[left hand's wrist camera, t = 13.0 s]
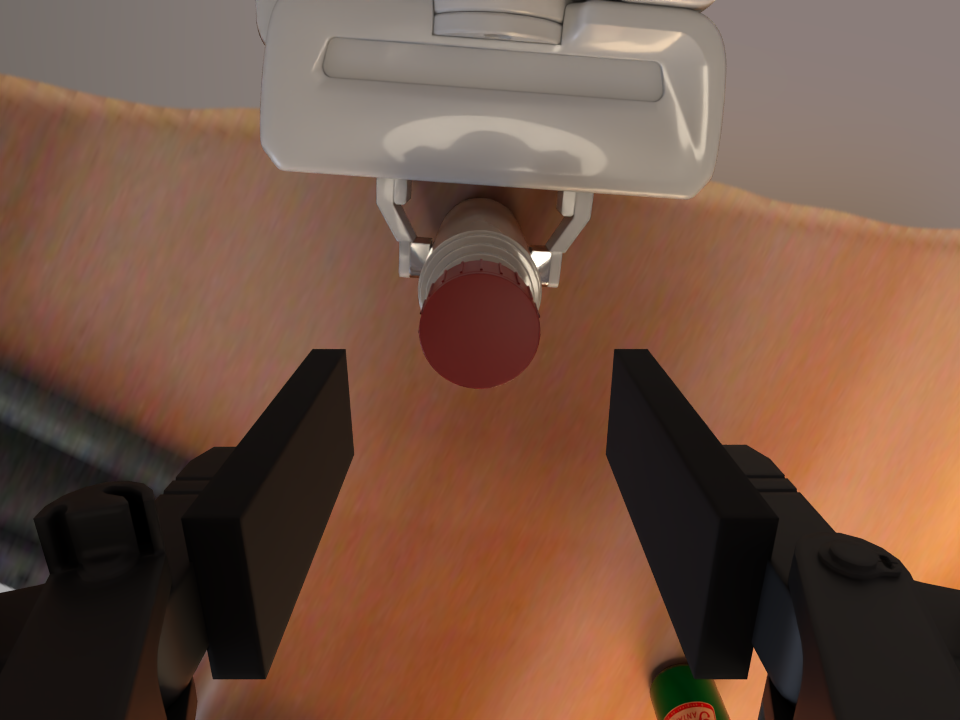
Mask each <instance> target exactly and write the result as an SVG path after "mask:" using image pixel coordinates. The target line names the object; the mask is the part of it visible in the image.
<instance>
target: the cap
mask: <svg viewBox="0 0 960 720" xmlns="http://www.w3.org/2000/svg"><path fill="white" fill-rule="evenodd" d="M420 314H421V319H420V325H419V338H420V344H421V347H422V350H423V353H424V355H425V357H426V359H427V360H428V362H429V363H430V365H431V366H432V367H433V368H434V370H435V371H437V372H438V373H439V374H440V375H441V376H442V377H444V378H445V379H447V380H449V381H450V382H452V383H455V384H457V385H460V386H463V387H467V388H474V389H485V388H492V387H496V386H499V385H502V384H505V383H507V382H509V381H511V380H512V379H514V378H515V377H517V376H518V375H519V374H521V373H522V372H523V371H524V370H525V369H526V367H527V366H528V365H529V364H530V362H531V361H532V359H533V357H534V355H535V353H536V351H537V348H538V345H539V339H540V322H539V318H540V315H539V312H538V309H537V306H536V303H534V301H533V296H532V293H531V290H530V287H529V285H528V286H527V285H526V284H525V283H524V281H523V280H522V279H521V278H520V277H519V276H518V273H517V272H513V271H512V270H511V269H509V268H507V267H506V266H503V265H502V263H500V262H499V263H495V262H492V261H485V260H483V259H480V260H475V261H468V262H464V261H462V262H461V264H458V265H456V266H454V267H452V268H450V269H449V270H444V273H443V274H442V275H441V276H440V277H439V278H438V279H437V280H436V282H435V283H432V284H431V287H430V291H429V294H428V296H427V299H425V300H424V303H423V306H422V309H421V312H420Z"/></svg>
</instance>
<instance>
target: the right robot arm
mask: <svg viewBox="0 0 960 720" xmlns="http://www.w3.org/2000/svg"><path fill="white" fill-rule="evenodd" d="M714 1H715V0H256V20H257V27H258V32H259V35H260V37H261V39H262V41H263V43H264V45H265V51H264V60H263V70H262V82H261V101H260V139H261V145H262V148H263V150H264V151H265V153H266V154H267V155H268V157H269V158H270V159H271V160H272V162H273V163H274V164H275V165H276V167H277V168H278V169H280V170H282V171H292V172H306V173H320V174H334V175H348V176H362V177H376V178H377V186H376V204H377V205H378V207H379V209H380V211H381V213H382V215H383V216H384V218H385V220H386V222H387V224H388V226H389V228H390V229H391V231H392V233H393V235H394V237H395V239H396V240H397V241H400V243H399V276H400V277H407V278H409V277H410V278H419V277H420V273H421V270H422V268H423V265H424V263H425V261H426V258H427V256H428V254H429V252H430V249H431V247H432V243H433V238H425V237H416V234H415V232H414V230H413V228H412V226H411V224H410V221H409V219H408V217H407V215H406V213H405V211H404V209H403V207H402V205H404V204H405V203H406V202H407V201H409V200H410V199H411V185H412V180H418V181H432V182H446V183H460V184H474V185H488V186H502V187H516V188H530V189H544V190H558V195H557V206H556V209H557V210H558V211H559V212H560V213H561V214H562V215H563V216H565V217H564V218H563V220H562V221H561V223H560V224H559V226H558V227H557V228H556V230H555V231H554V233H553V234H552V236H551V237H550V239H549V240H548V242H547V243H546V244H545V245H546V246H542V245H529V250H530V252H531V254H532V257H533V259H534V261H535V264H536V266H537V269H538V271H539V274H540V279H541V286H542V287H556V288H557V287H558V284H559V278H560V270H561V261H562V253H565V252H566V251H567V250H568V248H569V247H570V245H571V244H572V243H573V241H574V240H575V239H576V237H577V236H578V235H579V233H580V232H581V231H582V229H583V228H584V227H585V225H586V224H587V223H588V221H589V220H590V217H591V210H592V203H593V195H594V193H600V194H614V195H628V196H642V197H656V198H670V199H685V200H688V199H691V198H693V197H694V196H696V195H697V194H698V193H699V192H700V191H701V190H702V189H703V188H704V186H705V185H706V184H707V183H708V182H709V181H710V180H711V178H712V176H713V173H714V169H715V165H716V161H717V156H718V150H719V144H720V137H721V130H722V121H723V112H724V101H725V85H726V53H725V47H724V43H723V39H722V36H721V34H720V32H719V30H718V28H717V27H716V25H715V24H714V23H713V22H712V21H711V20H710V19H709V18H708V17H706V16H705V15H703V14H701V12H702V11H704V10H705V9H706V8H708V7H709V6H710V5H711V4H712V3H713V2H714Z"/></svg>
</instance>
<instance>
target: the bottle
mask: <svg viewBox="0 0 960 720" xmlns="http://www.w3.org/2000/svg"><path fill="white" fill-rule="evenodd" d="M480 259H483V260H485V261H492V262H495V263H499V262H500V263H502V265H503V266H506V267H507V268H509V269H511V270H512V271H513V272H517V273H518V276H519V277H520V278H521V279H522V280H523V281H524V283H525V284H526V285H527V286H528V285H529V287H530V290H531V293H532V296H533V301H534V303H536V306H537V309H538V310H539V307H540V303H541V296H542V286H541V279H540V274H539V271H538V269H537V266H536V264H535V261H534V259H533V257H532V254H531V252H530V250H529V247H528V245H527V242H526V240H525V238H524V235H523V233H522V231H521V228H520V226H519V224H518V221H517V220H516V218H515V216H514V215H513V213H512V212H511V211H510V210H509V209H508V208H507V207H505V206H504V205H503V204H501V203H499V202H497V201H495V200H492V199H488V198H472V199H468V200H465V201H463V202H461V203H459V204H457V205H456V206H455V207H453V208H452V209H451V210H450V211H449V212H448V214H447V215H446V216H445V218H444V220H443V222H442V224H441V226H440V229H439V231H438V233H437V235H436V238H435V240H434V242H433V245H432V247H431V249H430V252H429V254H428V256H427V258H426V261H425V263H424V265H423V268H422V270H421V273H420V277H419V282H418V299H419V305H420V308H421V309H422V306H423V303H424V300H425V299H427V296H428V294H429V291H430V287H431V284H432V283H435V282H436V280H437V279H438V278H439V277H440V276H441V275H442V274H443V273H444V270H449V269H450V268H452V267H454V266H456V265H458V264H461V262H462V261H464V262H468V261H475V260H480Z"/></svg>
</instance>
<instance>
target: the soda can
mask: <svg viewBox="0 0 960 720" xmlns="http://www.w3.org/2000/svg"><path fill="white" fill-rule="evenodd" d="M650 697H651V701H652V704H653V707H654V710H655V714H656V717H657V720H730V717H729V715H728V713H727V710H726V708H725V706H724V703H723V701H722V699H721V696H720V694H719V692H718V689H717V687H716V685H715V682H714V680H713V679H694V677H693V675H692V672H691V670H690V667H689V664H677V665H673V666H670V667H668V668H666V669H664V670H663V671H661V672H660V673H659V674H658V675H657V677H656V678H655V679H654V681H653V683H652V685H651V688H650Z"/></svg>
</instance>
